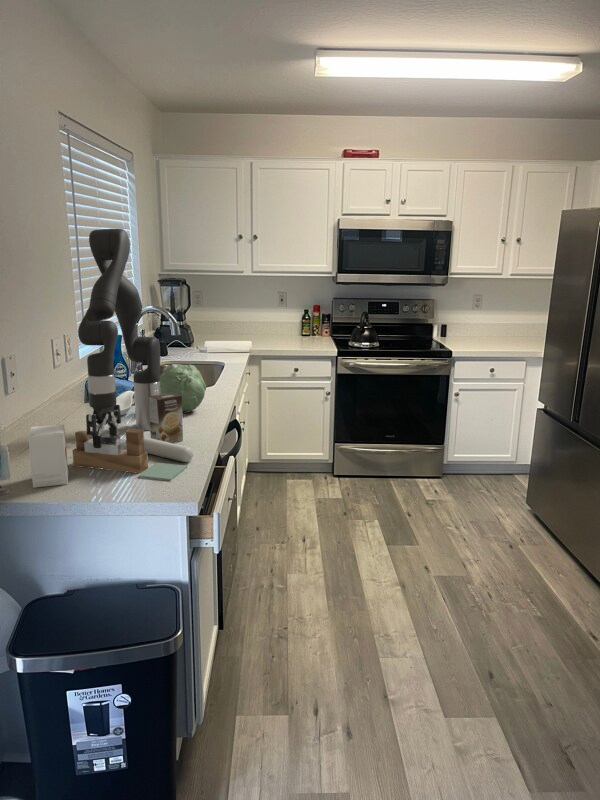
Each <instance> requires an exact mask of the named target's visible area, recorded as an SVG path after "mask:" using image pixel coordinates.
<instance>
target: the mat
mask: <svg viewBox="0 0 600 800" xmlns="http://www.w3.org/2000/svg"><path fill="white" fill-rule="evenodd" d="M185 468H186V469H187V468H188V465H185V464H184V465H183V464H173V463H166V462H165V463H164V462H155V463H154V464H152V465H151V466H150V467H148V468H147V469H146V470H145V471H143V472H142V473H139V474H138V475H137V477H138V478H139V479H151V480H159V481H168V482H171V481H172V479H173V480H174V479H175V478H176V477H178V476H179V475H180V474H181V473H182V472H184V471H185V470H186V469H185ZM184 469H185V470H184ZM183 470H184V471H183ZM178 474H179V475H178Z"/></svg>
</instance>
